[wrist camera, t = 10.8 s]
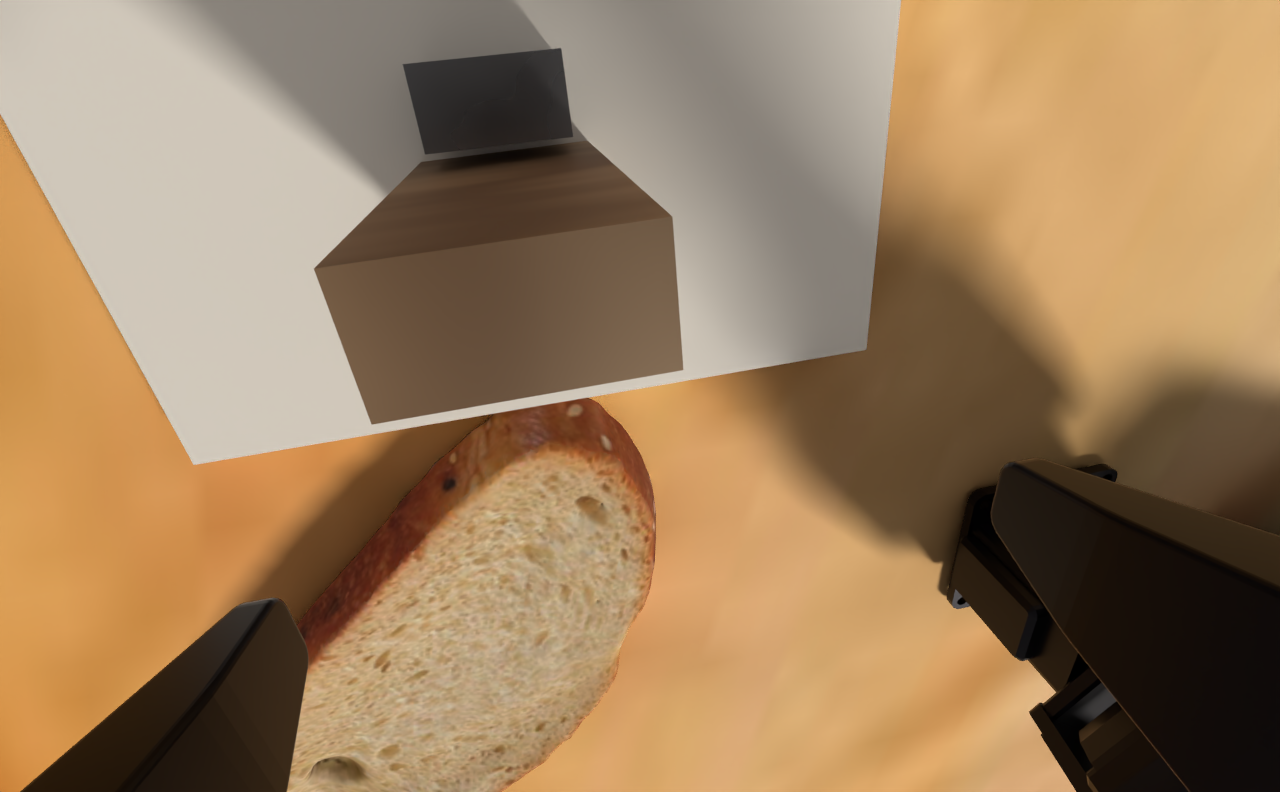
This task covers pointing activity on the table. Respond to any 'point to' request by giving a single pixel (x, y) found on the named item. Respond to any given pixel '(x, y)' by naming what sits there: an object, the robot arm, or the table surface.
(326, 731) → the bread slice
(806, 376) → the table surface
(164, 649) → the table surface
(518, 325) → the brown wooden beam
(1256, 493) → the table surface
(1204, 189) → the table surface
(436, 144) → the dark grey brushed block
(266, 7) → the light grey flat slab
